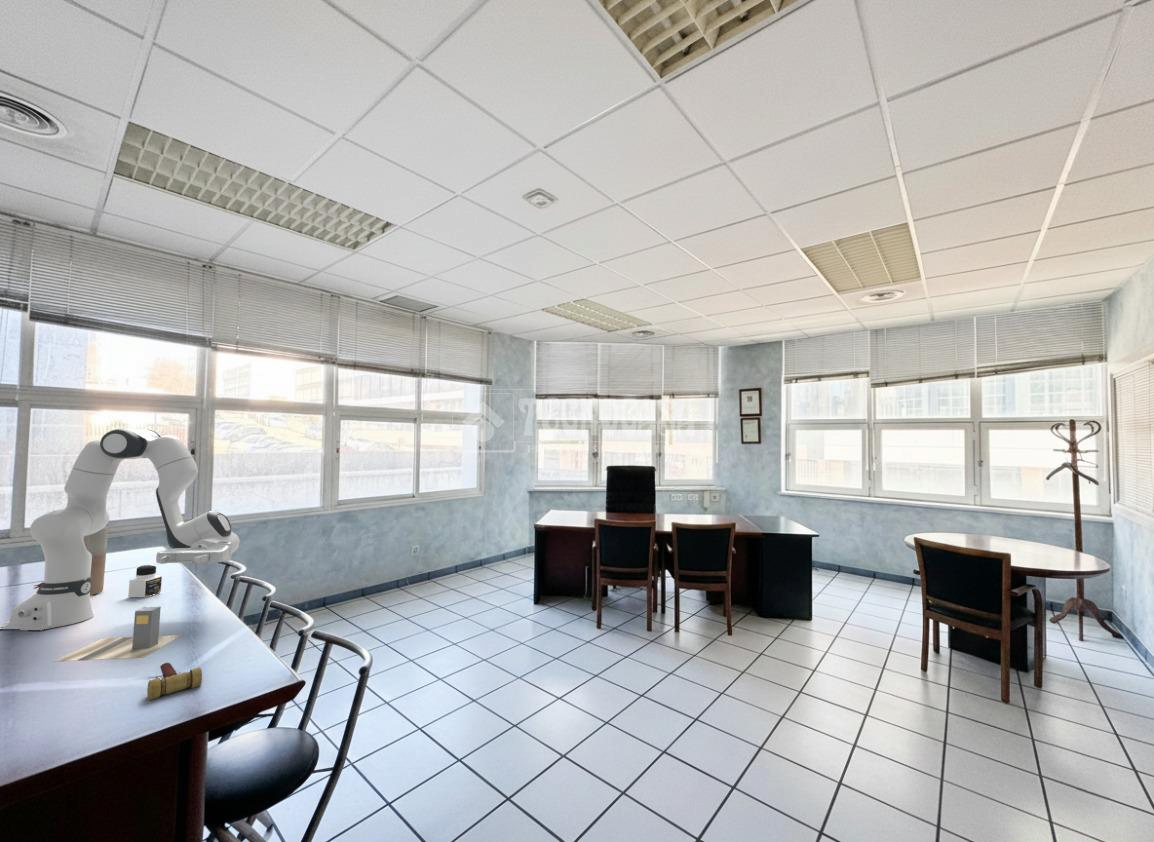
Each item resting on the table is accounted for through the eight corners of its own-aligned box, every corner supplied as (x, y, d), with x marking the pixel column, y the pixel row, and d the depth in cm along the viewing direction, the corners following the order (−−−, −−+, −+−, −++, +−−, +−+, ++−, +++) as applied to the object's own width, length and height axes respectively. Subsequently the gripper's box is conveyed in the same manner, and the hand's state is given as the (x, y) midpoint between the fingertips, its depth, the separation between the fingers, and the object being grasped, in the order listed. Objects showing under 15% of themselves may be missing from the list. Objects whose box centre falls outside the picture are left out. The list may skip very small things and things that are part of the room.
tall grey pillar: (131, 649, 137) (134, 611, 137) (141, 644, 140) (144, 607, 141) (148, 648, 137) (151, 610, 138) (157, 643, 141) (160, 606, 142)
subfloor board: (53, 666, 128) (53, 661, 129) (102, 643, 144) (102, 638, 144) (143, 662, 132) (143, 657, 132) (181, 639, 148) (182, 635, 148)
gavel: (139, 662, 126) (187, 650, 134) (138, 679, 126) (186, 667, 133) (150, 683, 112) (202, 669, 120) (149, 703, 112) (201, 688, 119)
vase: (83, 590, 195) (89, 523, 196) (109, 590, 196) (115, 523, 197) (60, 598, 185) (66, 527, 187) (87, 597, 186) (93, 527, 188)
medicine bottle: (145, 598, 186) (147, 568, 187) (127, 598, 187) (129, 567, 187) (161, 592, 194) (163, 563, 194) (144, 592, 194) (146, 563, 194)
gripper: (173, 543, 165) (143, 551, 151) (236, 542, 168) (213, 550, 154) (171, 561, 164) (141, 571, 151) (235, 560, 167) (211, 569, 154)
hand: (178, 560), depth 152 cm, fingers open, 8 cm apart
